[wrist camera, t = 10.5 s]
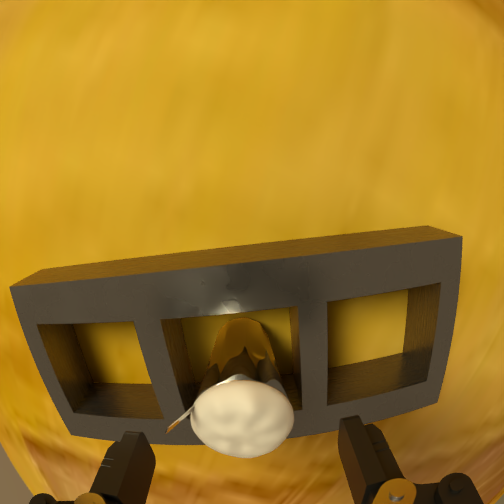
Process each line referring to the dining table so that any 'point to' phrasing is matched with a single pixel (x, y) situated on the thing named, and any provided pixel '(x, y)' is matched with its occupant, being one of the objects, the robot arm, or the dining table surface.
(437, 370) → the three-window grey frame
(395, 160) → the dining table surface
